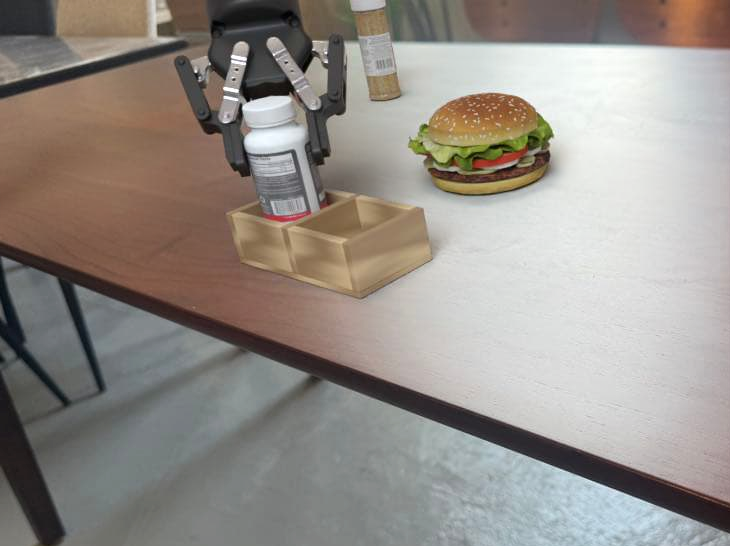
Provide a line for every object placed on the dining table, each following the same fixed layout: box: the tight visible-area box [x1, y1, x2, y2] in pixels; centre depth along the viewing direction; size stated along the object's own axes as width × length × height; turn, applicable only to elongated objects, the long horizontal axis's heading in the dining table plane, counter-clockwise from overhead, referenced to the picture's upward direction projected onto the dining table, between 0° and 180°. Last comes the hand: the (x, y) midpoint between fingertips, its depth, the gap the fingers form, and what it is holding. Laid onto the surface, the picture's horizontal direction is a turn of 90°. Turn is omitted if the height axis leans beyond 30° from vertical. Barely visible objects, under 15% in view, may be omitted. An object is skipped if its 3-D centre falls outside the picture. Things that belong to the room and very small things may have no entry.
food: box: [407, 91, 555, 195], centre depth 85 cm, size 14×14×8 cm
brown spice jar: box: [349, 0, 402, 101], centre depth 117 cm, size 5×5×14 cm
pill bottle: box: [242, 96, 328, 224], centre depth 71 cm, size 5×5×10 cm
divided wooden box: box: [225, 186, 433, 300], centre depth 72 cm, size 15×8×4 cm, turn 53°
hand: (282, 165), depth 69 cm, fingers closed on pill bottle, 5 cm apart
